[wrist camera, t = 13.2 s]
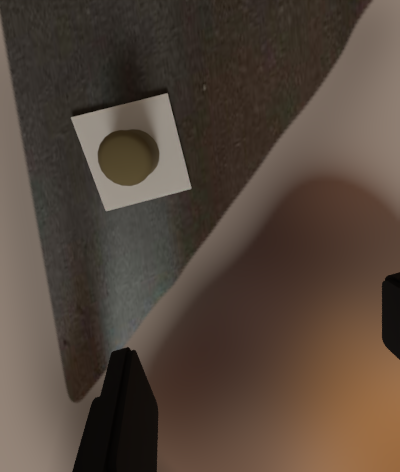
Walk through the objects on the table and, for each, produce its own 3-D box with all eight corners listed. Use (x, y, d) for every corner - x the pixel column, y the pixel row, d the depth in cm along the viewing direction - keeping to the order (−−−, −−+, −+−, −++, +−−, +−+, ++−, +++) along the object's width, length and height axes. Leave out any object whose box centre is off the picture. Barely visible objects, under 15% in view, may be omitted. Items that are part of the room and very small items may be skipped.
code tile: (167, 94, 34) (167, 93, 33) (191, 187, 38) (191, 188, 37) (72, 117, 34) (70, 117, 33) (107, 209, 38) (105, 211, 37)
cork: (102, 141, 34) (75, 141, 24) (146, 120, 34) (137, 112, 24) (126, 185, 36) (110, 203, 26) (167, 166, 36) (168, 176, 26)
